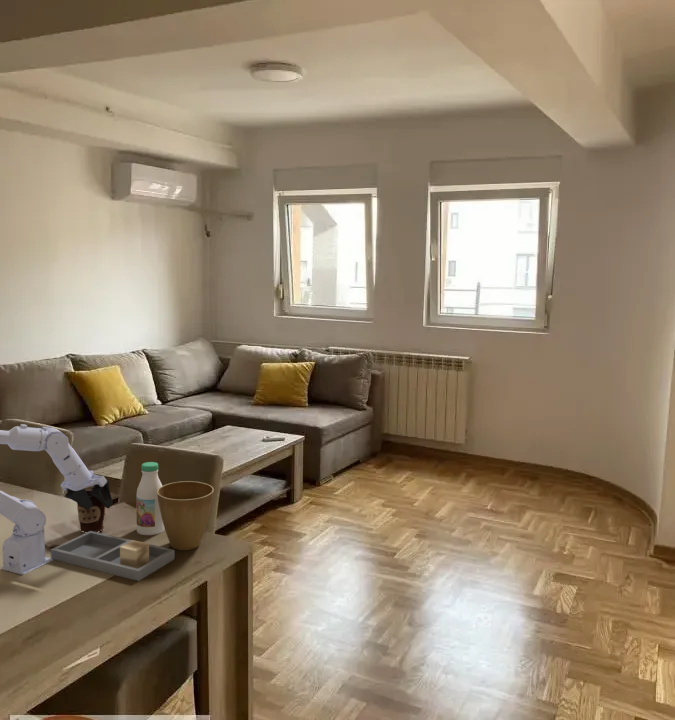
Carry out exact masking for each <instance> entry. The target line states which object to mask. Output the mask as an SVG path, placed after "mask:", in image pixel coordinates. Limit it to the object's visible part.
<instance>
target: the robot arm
mask: <svg viewBox="0 0 675 720" xmlns="http://www.w3.org/2000/svg"><path fill="white" fill-rule="evenodd" d="M0 445H8V447H9V448H10V449H11V450H13V451H28V452H42V451H45V452H46V453H47V454H48V455H49V456H50V458H51V459H52V462H53V464H54V466H55V467H56V468H57V469H58V470H59V472H60V473H61V474H62V476H63V477H64V479H65V480H64V481H62V483H61V484H60V487H61V489H62V490H63V492H65V491H66V493H65V495H64V496H65V498H66V499H70V500H72V501H74V502H76V504H77V503H78V504H79V505H81V506H82V507H83V508H85V509H86V510H89V509H90V508H91V506H92V505H93V504H92V501H91V500H90V498H89V496H88V495H87V493H86V490H85V488H87V487H89V486H94V488H93V490H92V491H91V492H90V494H91V495H93V496H95V497H96V498H97V499H99V500H100V501H101V503H102V504H103V505H104V506H105V507H106V509H110V508H111V507H112V505H113V504H114V501H113V498H112V495H111V491H110V490H111V489H110V479H108V478H106V477H105V475H98V474H95V473H94V470H89V469H88V467H87V466H86V464H85V463H84V462H83V460H82V459H81V457H80V455H78V453H77V452H76V450H75V449H74V448H73V447H72V446H71V444H70V441H69V437H68V436H67V435H66V434H65V433H63V432H62V431H60V430H59V429H57V428H55V427H51V426H42V427H30V426H29V427H28V425H27V424H25V423H24V424H23V423H21V424H20V426H19V425H17V426H14V427H12V428H11V429H9V430H5V429H0ZM0 515H2V516H3V517H5V518H6V519H7V520H8V521H10V522H11V523H13V524H14V526H13V528H12V533H11V535H10V536H9V537H8V538H6V539H5V540H4V541H3V542H2V564H3V565H2V566H1V567H0V569H1V570H3V571H7V572H11V573H14V574H18V575H22V576H23V575H26V574H27V573H30V572H32V571H34V570H36V569H38V568H40V567H42V566H44V565H46V564H48V563H50V562H52V561H54V560H53V559H51V557H47V556H46V545H45V544H46V540H45V539H46V537H45V526H46V523H47V516H46V514H45V513H44V512H43V511H42V510H40V509H39V508H38V506H37V505H36V503H35V502H33V501H32V500H30V499H20V498H18V497H16V496H13V495H9V494H8V493H6V492H5V491H3V490H0Z"/></svg>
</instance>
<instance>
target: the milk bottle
mask: <svg viewBox="0 0 675 720" xmlns="http://www.w3.org/2000/svg"><path fill="white" fill-rule="evenodd" d="M140 468H141V469H140V470H141V473H142V476H141V479H140V482H139V484H138V486H137V488H136V489H137V490H136V498H135V499H136V502H135V503H136V505H135V506H136V509H135V510H136V514H135V515H136V532H137V534H139V535H142V536H155V535H158V534H161V533H164V531H165V528H164V524H163V521H162V517H161V513H160V508H159V502H158V496H157V490H158V489H159V488H160V487H162V486H163V484H162V482H161V480H160V478H159V474H158V472H159V463H158V462H156V461H155V462H154V461H148V462H144V463H142V464H141V466H140Z"/></svg>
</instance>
